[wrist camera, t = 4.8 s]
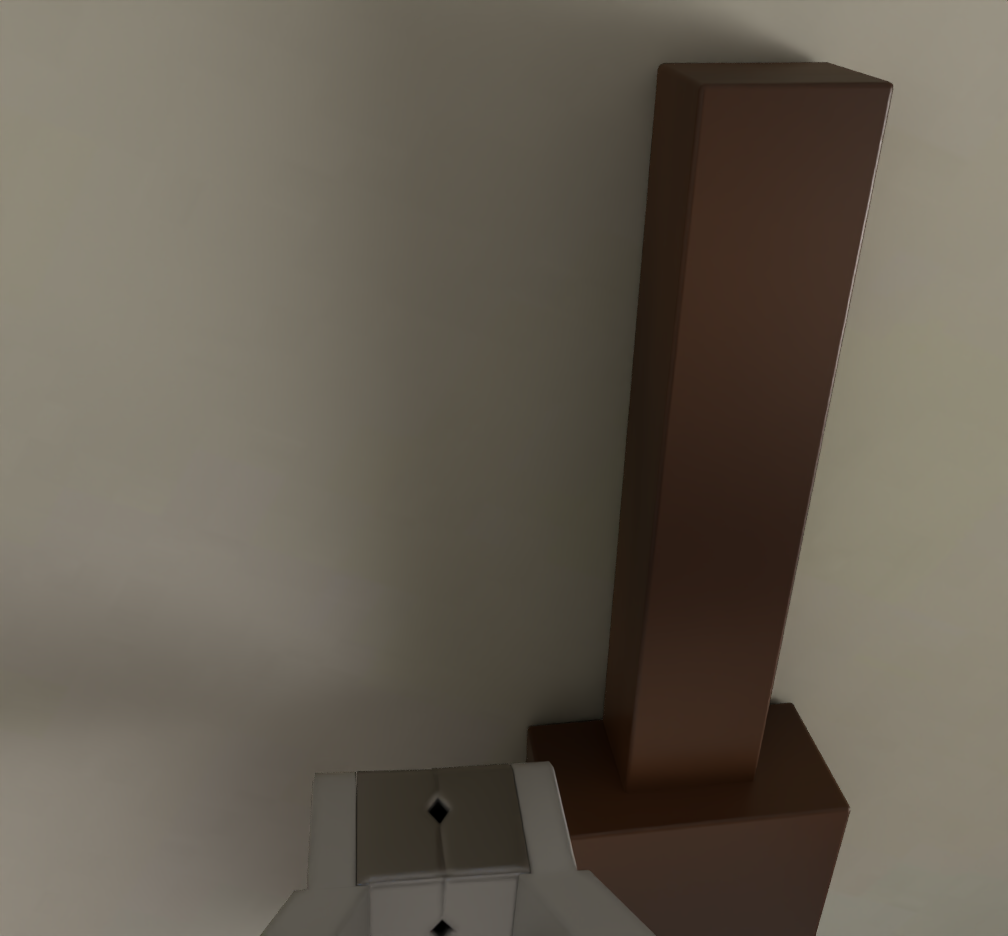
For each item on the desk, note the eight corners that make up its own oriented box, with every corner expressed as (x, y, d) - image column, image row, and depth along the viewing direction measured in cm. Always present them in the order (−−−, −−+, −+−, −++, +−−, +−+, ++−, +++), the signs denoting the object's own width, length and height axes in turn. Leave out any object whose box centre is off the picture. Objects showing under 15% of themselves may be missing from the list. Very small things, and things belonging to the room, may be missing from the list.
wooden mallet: (547, 63, 9) (589, 96, 8) (932, 60, 10) (1055, 91, 8) (520, 918, 16) (540, 1039, 14) (751, 892, 16) (798, 1006, 15)
